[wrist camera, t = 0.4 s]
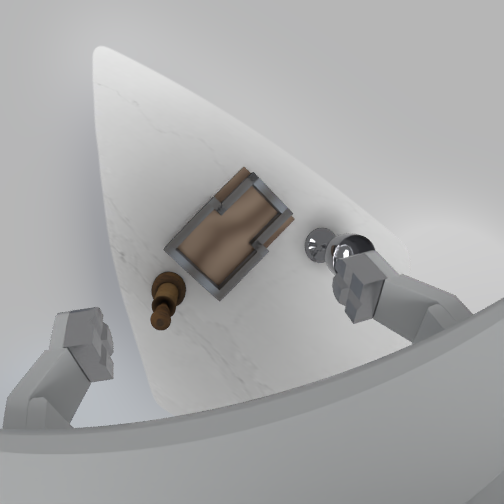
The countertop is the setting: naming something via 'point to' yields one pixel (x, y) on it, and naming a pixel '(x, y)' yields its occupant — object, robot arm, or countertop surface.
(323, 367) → the countertop surface
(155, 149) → the countertop surface
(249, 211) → the tray
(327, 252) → the wine glass
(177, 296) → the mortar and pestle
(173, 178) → the countertop surface
